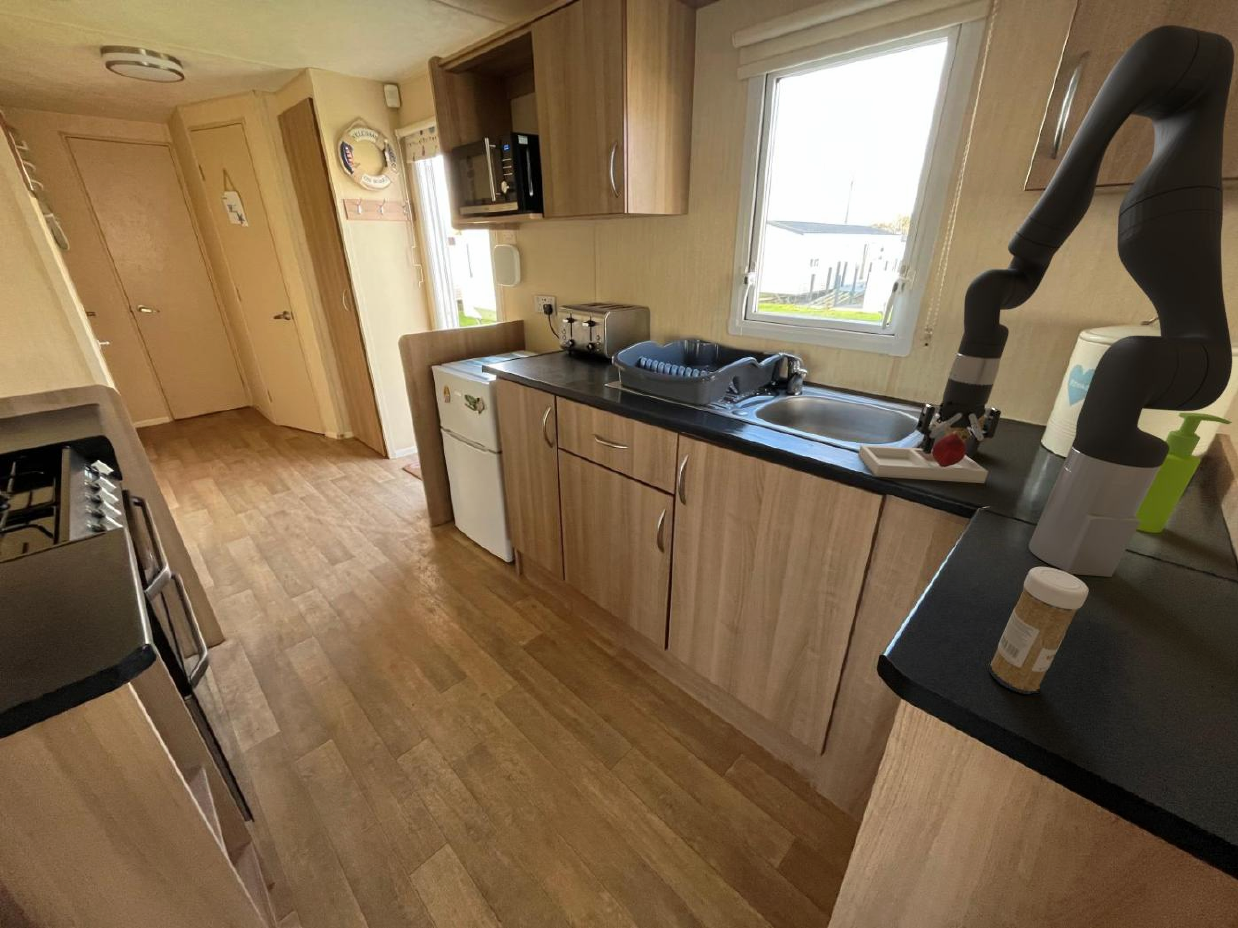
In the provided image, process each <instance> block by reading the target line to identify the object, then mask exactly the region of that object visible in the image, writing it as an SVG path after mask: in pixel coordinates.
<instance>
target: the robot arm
mask: <svg viewBox="0 0 1238 928" xmlns="http://www.w3.org/2000/svg"><path fill="white" fill-rule="evenodd" d="M1234 64H1235V51H1234V46H1233V43H1232V42H1231V41H1230V40H1229V39H1228V38H1227V37H1225V36H1223V35H1221V34H1218V33H1215V32H1210V31H1205V30H1202V29H1196V28H1191V27H1186V26H1181V25H1176V24H1174V25H1173V24H1168V25H1166V24H1164V25H1161V26H1159V27H1156V28H1153V29H1151V30H1149V31H1148V32H1146V33H1144V34H1143V35H1142V36H1141V37H1139V38H1138V39H1137V40H1136V41H1134V43H1133V44H1131V46H1129V47H1128V49H1126V51H1125V52H1124V53H1123V55H1121V57H1120V58H1119V60H1118V61H1117V62H1116V64H1115V65H1114V66H1113V67H1112V69H1111V71H1110V73H1109V74H1108V76H1107V77H1106V78H1105V80H1104V82H1103V84H1102V86H1101V88H1100V89H1099V91H1098V93H1097V94H1096V97H1095V98H1094V100H1093V102H1092V104H1091V106H1090V108H1089V109H1088V111H1087V113H1086V115H1085V117H1084V119H1083V120H1082V122H1081V124H1080V126H1079V128H1078V129H1077V131H1076V133H1075V135H1074V137H1073V139H1072V141H1071V142H1070V145H1069V147H1068V149H1067V151H1066V152H1065V154H1064V156H1063V158H1062V160H1061V162H1060V164H1059V166H1058V167H1057V169H1056V171H1055V173H1054V175H1053V177H1052V178H1051V180H1050V182H1049V184H1048V185H1047V187H1046V189H1045V190H1044V191H1043V193H1042V194H1041V196H1040V197H1039V199H1038V200H1037V202H1036V203H1035V205H1034V206H1033V208H1032V209H1031V210H1030V211H1029V213H1028V215H1027V216H1026V217H1025V219H1024V220H1023V222H1022V223H1021V224H1020V225H1019V227H1018V229H1016V231H1015V233H1014V234H1013V235H1012V237H1011V238H1010V241H1009V243H1008V245H1007V250H1008V252H1009V253H1010V255H1012V256H1013V257H1012V259H1011V261H1010V263H1009V265H1008V266H1007V267H1006V269H1004V268H1003V269H1000V268H997V269H996V268H993V269H987V270H983V271H982V272H980V273H978V274H977V275H976V276H975V277H974V278H973V279H972V281H971V282H970V284H969V285H968V288H967V290H966V291H965V292H966V293H965V296H964V304H963V305H964V307H963V308H964V309H963V311H964V312H963V328H964V329H963V330H964V331H963V334H962V337H961V340H960V343H959V347H958V350H957V353H956V357H955V358H954V360H953V362H952V364H951V368H950V371H949V374H948V379H947V381H946V384H945V389H944V390H943V391H944V392H943V394H942V401H941V403H940V404H939V405H931V404H929V403H928V402H927V403H924V404H923V405H922V409H921V412H920V413H919V414H920V415H919V418H918V421H917V423H916V426H915V430H916V431H917V432H919V433H920V434H921V435H923V438H922V442H921V445H920V449H922V450H923V452H924V453H925V454H931V451H932V449H933V446H934V444H935V441H936V438H935V437H937V436H938V434H940V433H941V432H944V430H946V429H947V428H948V427H950V428H957V427H960V428H966V429H967V428H968V430H969V432H970V434H971V437H969V438H968V441H967V444H966V447H965V449H966V453H965V455H966V456H967V457H969V458H973V457H974V455H976V453H977V452H978V449H979V446H980V445H981V444H980V441H981V440H983V439H984V438H988V439H992V438H993V437H995V435H996V434H995V433H996V430H997V427H998V424H999V421H1000V417H1001V415H1002V411H1001V410H999V408H997V407H994V406H989V407H987V408H985V407H986V405H987V404H988V402H989V399H990V396H991V392H992V391H993V387H994V384H995V382H996V379H997V375H998V373H999V370H1000V365H1001V364H1000V363H1001V359H1002V356H1003V353H1004V350H1005V347H1006V344H1007V342H1008V338H1009V333H1010V331H1009V328H1008V327H1007V326H1006V325H1004V324H1001V323H1000V319H1001V311H1006V310H1013V309H1016V308H1018V307H1020V306H1022V305H1024V303H1026V302H1027V301H1028V300H1029V299H1030V298H1032V296H1033V295H1034V294H1035V293H1036V291H1037V290H1038V288H1039V287H1040V284H1041V282H1042V280H1043V279H1044V277H1045V274H1046V272H1047V270H1048V269H1049V266H1050V264H1051V262H1052V259H1053V257H1054V255H1055V254H1056V253H1057V252H1058V251H1059V250H1060V248H1061V247H1062V246H1063V244H1064V243H1065V242H1066V241H1067V240H1068V239H1069V237H1070V236H1071V234H1072V233H1073V232H1074V231H1075V230H1076V228H1077V227H1078V226H1079V224H1080V223H1081V221H1082V220H1083V219H1084V217H1085V215H1086V214H1087V212H1088V210H1089V208H1090V205H1091V203H1092V201H1093V199H1094V194H1095V191H1096V188H1097V187H1096V186H1097V181H1098V177H1099V173H1100V170H1101V165H1102V162H1103V160H1104V156H1105V154H1106V151H1107V149H1108V147H1109V145H1110V144H1111V141H1112V140H1113V138H1114V137H1115V135H1117V133H1118V132H1119V129H1120V128H1121V127H1122V125H1123V124H1124V123H1125V122H1126V121H1127V120H1128V118H1129V117H1130V116H1131V115H1134V116H1140V117H1143V118H1149V119H1150V120H1151V122H1152V125H1153V132H1154V140H1153V141H1154V142H1153V143H1154V146H1153V153H1152V157H1151V159H1150V162H1149V163H1148V165H1147V166H1146V167H1145V169H1143V171H1142V172H1141V173H1140V175H1139V176H1138V177H1137V179H1135V181H1134V182H1133V184H1132V185H1130V188H1129V189H1128V190H1127V193H1126V194H1125V196H1124V198H1123V200H1122V201H1121V204H1120V207H1119V209H1118V210H1119V211H1118V219H1117V252H1118V257H1119V260H1120V262H1121V264H1122V266H1123V267H1124V269H1125V270H1126V272H1127V273H1128V274H1129V276H1130V277H1131V278H1132V279H1133V281H1134V282H1135V283H1136V285H1137V286H1138V287H1139V288H1140V289H1141V290H1142V291H1143V293H1144V294H1145V295H1146V296H1147V298H1148V299H1149V301H1150V302H1151V304H1152V305H1153V307H1154V309H1155V311H1156V314H1157V316H1158V317H1157V318H1158V323H1159V329H1160V335H1128V336H1125V337H1122V338H1120V339H1118V340H1117V341H1115V342H1114V343H1112V344H1111V345H1110V346H1109V347H1108V348H1107V349H1106V350H1105V352H1104V353H1103V354H1102V356H1101V358H1100V359H1099V360H1098V363H1097V365H1096V367H1095V370H1094V372H1093V374H1092V377H1091V380H1090V382H1089V386H1088V389H1087V392H1086V395H1085V397H1084V400H1083V404H1082V406H1081V409H1080V411H1079V413H1078V417H1077V420H1076V426H1075V427H1076V428H1075V436H1074V439H1073V441H1072V443H1071V446H1070V449H1069V451H1068V453H1067V455H1066V458H1065V459H1064V462H1063V465H1062V466H1061V469H1060V472H1059V473H1058V476H1057V478H1056V480H1055V482H1054V486H1053V488H1052V490H1051V492H1050V494H1049V497H1048V499H1047V501H1046V504H1045V506H1044V509H1043V510H1042V513H1041V515H1040V518H1039V520H1038V522H1037V525H1036V527H1035V530H1034V532H1033V534H1032V537H1031V538H1030V541H1029V544H1028V549H1029V551H1030V552H1031V553H1032V554H1033V555H1034V556H1036V557H1037V558H1038V559H1040V560H1042V561H1043V562H1045V563H1047V564H1049V565H1051V566H1053V567H1054V568H1055V567H1056V568H1058V569H1059V570H1061V571H1064V572H1066V573H1068V574H1071V575H1081V576H1095V577H1109V578H1111V577H1112V576H1113V574H1114V572H1115V570H1116V569H1117V567H1118V565H1119V563H1120V562H1121V559H1122V557H1123V556H1124V554H1125V552H1126V550H1127V548H1128V547H1129V544H1130V542H1131V540H1132V539H1133V538H1134V535H1135V534H1136V531H1137V528H1138V526H1139V524H1140V520H1139V519H1138V518H1136V517H1135V515H1136V513H1137V511H1138V510H1139V508H1140V506H1141V504H1142V502H1143V500H1144V498H1145V496H1146V494H1147V492H1148V490H1149V489H1150V487H1151V485H1152V483H1153V481H1154V479H1155V477H1156V475H1157V474H1158V472H1159V470H1160V468H1161V466H1162V464H1163V462H1164V460H1165V459H1166V457H1167V454H1168V452H1169V445H1168V444H1167V443H1166V442H1165V441H1166V440H1164V439H1162V438H1160V437H1158V436H1156V435H1155V434H1152V433H1149V432H1146V431H1144V430H1141V429H1140V428H1139V425H1138V424H1139V420H1140V417H1141V414H1142V411H1143V410H1144V409H1145V410H1155V411H1156V410H1157V411H1158V410H1159V411H1173V412H1193V411H1199V410H1203V409H1205V408H1207V407H1209V406H1211V405H1212V404H1214V403H1215V402H1216V401H1217V400H1218V399H1219V398H1220V397H1222V395H1223V393H1224V392H1225V390H1226V389H1227V387H1228V385H1229V381H1230V379H1231V376H1232V370H1233V369H1232V368H1233V350H1232V342H1231V336H1230V335H1231V334H1230V329H1229V323H1228V317H1227V311H1226V304H1225V297H1224V287H1223V269H1222V267H1223V265H1222V229H1223V219H1224V218H1223V216H1224V213H1223V212H1224V188H1223V186H1224V184H1223V154H1224V153H1223V151H1224V150H1223V149H1224V130H1225V129H1224V127H1225V119H1226V113H1227V106H1228V102H1229V95H1230V91H1231V90H1230V89H1231V84H1232V78H1233V73H1234ZM937 413H938V416H937V417H936V418H935V419H933V417H935V416H936V414H937ZM982 416H984V417H985V419H984V423H983V426H982V430H981V427H980V425H979V423H978V421H977V420H978V419H980V418H981V417H982ZM932 419H933V420H932ZM979 444H980V445H979Z"/></svg>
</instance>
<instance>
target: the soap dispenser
mask: <svg viewBox="0 0 1238 928" xmlns="http://www.w3.org/2000/svg"><path fill="white" fill-rule="evenodd" d="M1178 417H1180V418H1182V419H1183V422H1182V424H1181V426H1180V428H1179V429H1177V430H1172V431H1170V432H1169V433H1168V435H1167V437H1166V439H1165V440H1164V441H1165V442H1166V443H1167V444H1168V445H1169V452H1168V454H1167V457H1166V459H1165V460H1164V462H1163V464H1162V466H1161V468H1160V470H1159V472H1158V474H1157V475H1156V477H1155V479H1154V481H1153V483H1152V485H1151V487H1150V489H1149V490H1148V492H1147V494H1146V496H1145V498H1144V500H1143V502H1142V504H1141V506H1140V508H1139V510H1138V511H1137V513H1136V515H1135V517H1136V518H1138V519H1139V520H1140V524H1139V526H1138V528H1137V529H1136V531H1141V532H1145V533H1153V534H1155V533H1161V532H1162V531H1163V530H1164V528H1165V526H1166V525H1167V523H1168V521H1169V519H1170V517H1171V516H1172V513H1173V512H1174V510H1175V508H1176V506H1177V504H1178V503H1179V501H1180V499H1181V497H1182V496H1183V494H1184V492H1185V491H1186V489H1187V487H1188V485H1189V483H1190V482H1191V479H1192V477H1193V476H1194V474H1195V472H1196V470H1197V469H1198V467H1199V465H1200V463H1201V462H1202V459H1200V457H1197V456H1195V455H1193V453H1194V451H1195V449H1196V447H1197V445H1198V443H1199V441H1200V439H1201V436H1199V435H1198V434H1197V433H1196V431H1197V429H1198V428H1199V426H1200V424H1201V422H1202V421H1207V422H1217V423H1221V424H1225V425H1230V424H1231V423H1233V422H1232V421H1230V420H1228V419H1225V418H1222V417H1220V416H1217V415H1211V414H1207V413H1197V412H1179V414H1178Z"/></svg>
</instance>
